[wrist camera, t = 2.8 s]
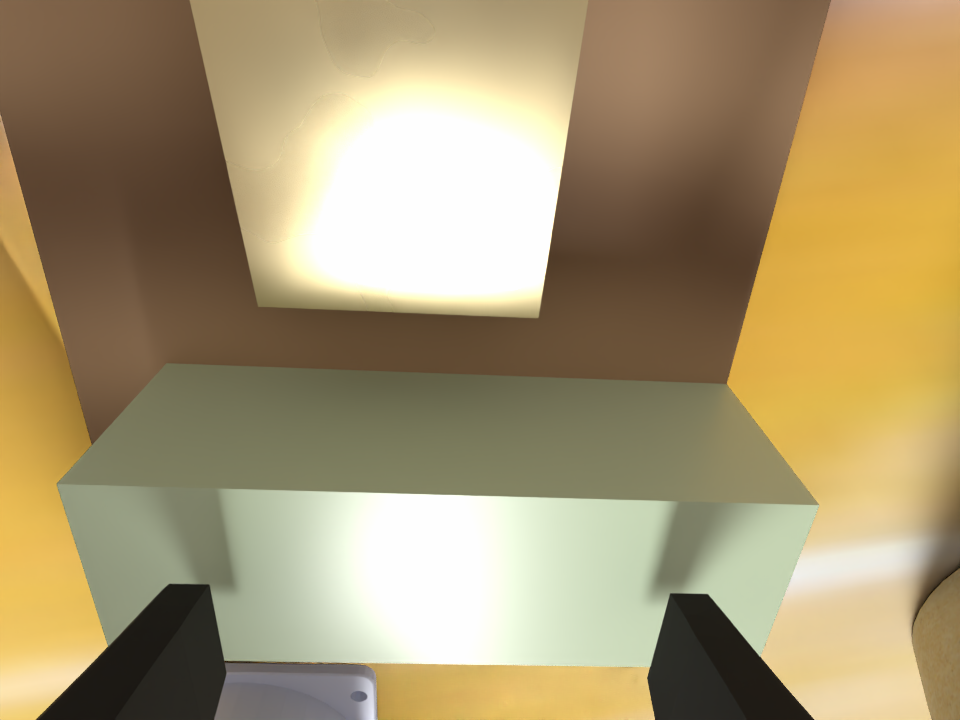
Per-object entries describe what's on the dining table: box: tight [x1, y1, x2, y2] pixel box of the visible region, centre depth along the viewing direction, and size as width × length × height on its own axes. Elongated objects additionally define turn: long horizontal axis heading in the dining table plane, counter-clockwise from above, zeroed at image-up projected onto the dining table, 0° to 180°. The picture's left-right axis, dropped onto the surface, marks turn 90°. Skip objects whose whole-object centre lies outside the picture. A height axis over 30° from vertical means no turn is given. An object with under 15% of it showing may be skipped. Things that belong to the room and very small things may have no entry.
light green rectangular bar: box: [57, 363, 819, 667], centre depth 13 cm, size 4×12×4 cm, turn 87°
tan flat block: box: [190, 0, 588, 318], centre depth 10 cm, size 6×5×1 cm
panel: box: [0, 0, 831, 445], centre depth 12 cm, size 24×14×4 cm, turn 177°
